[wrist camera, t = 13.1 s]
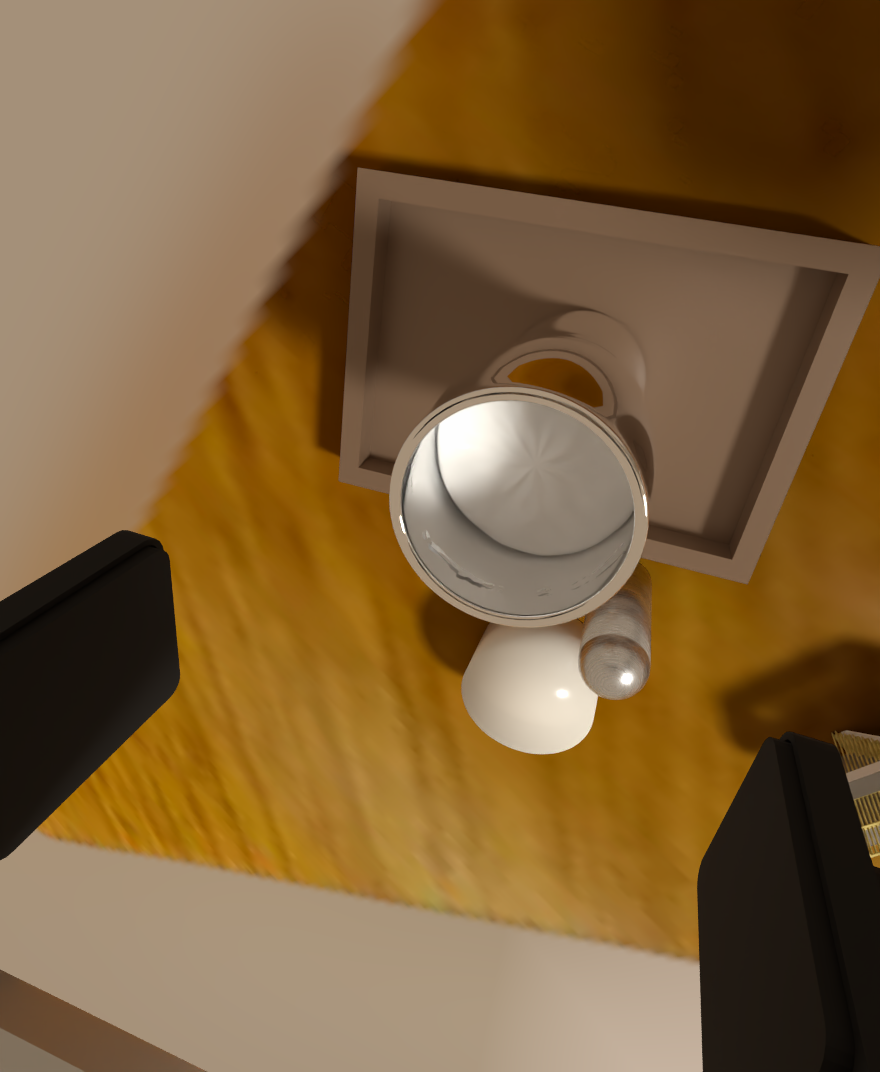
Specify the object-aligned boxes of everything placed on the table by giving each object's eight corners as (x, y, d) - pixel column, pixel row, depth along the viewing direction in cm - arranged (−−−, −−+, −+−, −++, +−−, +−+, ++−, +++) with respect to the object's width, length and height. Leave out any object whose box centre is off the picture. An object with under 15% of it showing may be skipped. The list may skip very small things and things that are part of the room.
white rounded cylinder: (551, 583, 35) (536, 624, 32) (629, 678, 36) (622, 727, 33) (458, 636, 39) (436, 678, 35) (531, 721, 40) (516, 769, 36)
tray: (871, 244, 25) (891, 248, 23) (741, 558, 31) (747, 584, 29) (380, 170, 29) (357, 167, 26) (357, 464, 35) (338, 481, 33)
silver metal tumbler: (602, 262, 27) (552, 313, 14) (688, 403, 28) (715, 568, 15) (469, 359, 30) (329, 473, 17) (552, 481, 31) (480, 670, 19)
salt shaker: (658, 565, 33) (659, 667, 26) (642, 614, 34) (638, 723, 27) (599, 551, 33) (583, 646, 26) (585, 598, 35) (567, 702, 28)
